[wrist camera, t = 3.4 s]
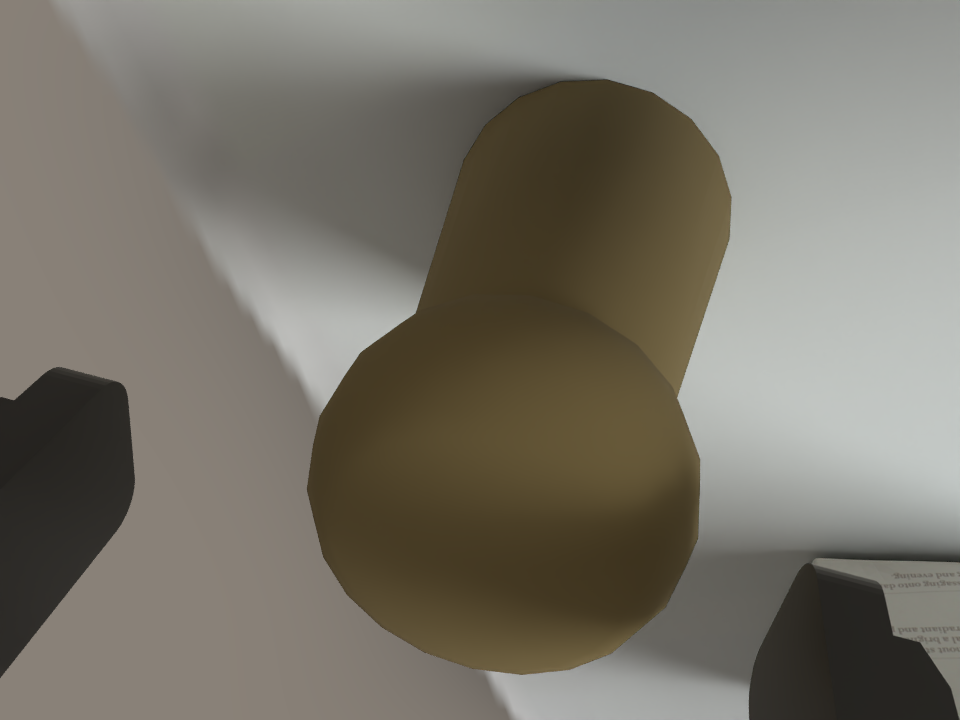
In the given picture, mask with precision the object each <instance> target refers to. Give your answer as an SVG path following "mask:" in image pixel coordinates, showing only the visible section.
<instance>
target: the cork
mask: <svg viewBox="0 0 960 720" xmlns="http://www.w3.org/2000/svg"><path fill="white" fill-rule="evenodd" d="M730 216H731V194H730V191H729V188H728V184H727V181H726V178H725V175H724V171H723V168H722V165H721V162H720V158H719V156H718V154H717V153H716V151H715V150H714V149H713V147H712V146H711V145H710V143H709V142H708V141H707V139H706V138H705V137H704V135H703V134H702V133H701V131H700V130H699V129H698V127H697V126H696V125H695V123H694V122H693V121H692V119H690V118H689V117H687V116H686V115H685V114H683V113H682V112H680V111H679V110H677V109H676V108H674V107H673V106H671V105H670V104H668V103H667V102H666V101H664V100H663V99H661V98H660V97H658V96H657V95H655V94H654V93H652V92H648V91H645V90H641V89H638V88H634V87H631V86H627V85H624V84H620V83H617V82H613V81H610V80H591V81H565V82H559V83H556V84H553V85H551V86H548V87H545V88H543V89H540V90H537V91H535V92H532V93H530V94H527V95H524V96H522V97H519V98H518V99H516V100H515V101H514V102H513V103H511V104H510V105H509V106H508V107H507V108H505V109H504V110H503V111H502V112H501V113H499V114H498V115H497V116H496V117H494V118H493V119H492V120H491V121H490V122H488V123H487V124H486V125H485V126H484V128H483V130H482V131H481V133H480V135H479V136H478V138H477V140H476V141H475V143H474V144H473V146H472V148H471V149H470V151H469V153H468V154H467V156H466V158H465V159H464V161H463V165H462V168H461V171H460V174H459V177H458V181H457V184H456V187H455V190H454V193H453V196H452V200H451V203H450V206H449V209H448V212H447V216H446V219H445V222H444V225H443V228H442V231H441V235H440V238H439V241H438V244H437V247H436V251H435V254H434V257H433V260H432V263H431V266H430V270H429V273H428V276H427V279H426V282H425V286H424V289H423V292H422V295H421V298H420V301H419V305H418V308H417V311H416V314H414V315H413V316H411V317H410V318H408V319H407V320H405V321H404V322H402V323H401V324H399V325H398V326H397V327H395V328H394V329H393V330H391V331H390V332H388V333H387V334H386V335H384V336H383V337H381V338H380V339H379V340H377V341H376V342H374V343H373V344H372V345H370V346H369V347H368V348H366V349H365V350H363V351H362V352H361V353H360V354H359V356H358V357H357V359H356V360H355V362H354V363H353V365H352V366H351V367H350V369H349V370H348V372H347V373H346V375H345V376H344V378H343V379H342V381H341V383H340V384H339V386H338V388H337V389H336V391H335V392H334V394H333V396H332V397H331V399H330V400H329V402H328V404H327V405H326V407H325V408H324V410H323V412H322V413H321V415H320V417H319V421H318V426H317V430H316V435H315V439H314V444H313V449H312V457H311V464H310V471H309V478H308V485H307V492H308V496H309V500H310V505H311V508H312V513H313V517H314V521H315V525H316V529H317V533H318V538H319V542H320V545H321V550H322V554H323V557H324V559H325V561H326V562H327V563H328V565H329V567H330V569H331V570H332V572H333V573H334V575H335V576H336V578H337V580H338V581H339V583H340V584H341V586H342V587H343V589H344V591H345V592H346V594H347V595H348V596H349V597H350V598H351V599H352V600H353V601H354V602H355V603H356V604H357V605H358V606H359V607H361V608H362V609H363V610H364V611H365V612H366V613H367V614H368V615H369V616H370V617H371V618H372V619H373V620H374V621H375V622H377V623H378V624H379V625H380V626H381V627H382V628H384V629H385V630H387V631H389V632H391V633H392V634H394V635H396V636H397V637H399V638H401V639H403V640H404V641H406V642H408V643H409V644H411V645H413V646H414V647H416V648H418V649H419V650H421V651H423V652H425V653H428V654H430V655H433V656H436V657H440V658H442V659H445V660H448V661H451V662H454V663H457V664H460V665H463V666H466V667H469V668H472V669H479V670H487V671H495V672H503V673H512V674H520V675H524V674H534V673H543V672H553V671H563V670H570V669H573V668H575V667H578V666H580V665H583V664H585V663H588V662H591V661H593V660H596V659H598V658H601V657H603V656H606V655H609V654H611V653H612V652H613V651H615V650H616V649H617V648H618V647H619V646H621V645H622V644H623V643H624V642H625V641H627V640H628V639H629V638H630V637H631V636H632V635H634V634H635V633H636V632H637V631H638V630H639V629H641V628H642V627H643V626H644V625H645V624H647V623H648V622H649V621H650V620H651V619H652V618H654V617H655V616H656V615H657V614H658V613H659V612H661V611H662V610H663V609H664V608H665V607H666V605H667V603H668V601H669V599H670V597H671V595H672V593H673V591H674V589H675V587H676V585H677V583H678V581H679V579H680V577H681V575H682V573H683V571H684V569H685V567H686V565H687V563H688V560H689V558H690V556H691V553H692V551H693V549H694V546H695V544H696V542H697V539H698V523H699V496H700V458H699V455H698V452H697V450H696V447H695V444H694V442H693V439H692V436H691V433H690V431H689V428H688V425H687V423H686V420H685V417H684V415H683V412H682V409H681V407H680V404H679V402H678V399H677V396H678V393H679V390H680V387H681V384H682V381H683V378H684V375H685V372H686V369H687V366H688V363H689V360H690V357H691V354H692V351H693V348H694V345H695V342H696V339H697V336H698V333H699V330H700V327H701V324H702V321H703V318H704V314H705V311H706V308H707V305H708V302H709V299H710V296H711V293H712V290H713V287H714V284H715V281H716V278H717V275H718V272H719V269H720V266H721V263H722V260H723V257H724V254H725V251H726V248H727V245H728V242H729V237H730Z"/></svg>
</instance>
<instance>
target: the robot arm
mask: <svg viewBox="0 0 960 720" xmlns="http://www.w3.org/2000/svg"><path fill="white" fill-rule="evenodd" d="M134 483H135V475H134V463H133V451H132V440H131V428H130V417H129V405H128V396H127V392H126V389H125V387H124V386H123V385H122V384H121V383H119V382H116V381H112V380H109V379H104V378H100V377H97V376H93V375H89V374H85V373H82V372H78V371H74V370H70V369H66V368H62V367H56V368H53V369H51V370H49V371H47V372H46V373H45V374H43V375H42V376H41V377H40V378H39V379H38V380H37V381H36V382H34V383H33V384H32V385H31V386H30V387H29V388H28V389H27V390H25V391H24V392H23V393H22V394H21V395H20V396H19V397H18V398H16V399H15V400H10V399H6V398H3V397H1V398H0V678H1V676H2V675H3V674H4V673H5V671H6V670H7V669H8V668H9V666H10V665H11V664H12V662H13V661H14V660H15V658H16V657H17V656H18V655H19V653H20V652H21V651H22V650H23V649H24V647H25V646H26V645H27V643H28V642H29V641H30V640H31V638H32V637H33V636H34V634H35V633H36V632H37V631H38V630H39V628H40V627H41V625H43V623H44V622H45V621H46V619H47V618H48V617H49V616H50V614H51V613H52V612H53V610H54V609H55V608H56V607H57V606H58V604H59V603H60V602H61V600H62V599H63V598H64V597H65V595H66V594H67V593H68V591H69V590H70V589H71V588H72V586H73V585H74V584H75V583H76V582H77V580H78V579H79V578H80V577H81V575H82V574H83V573H84V571H85V570H86V569H87V568H88V566H89V565H90V564H91V563H92V561H93V560H94V559H95V558H96V556H97V555H98V554H99V553H100V551H101V550H102V549H103V547H104V546H105V545H106V544H107V542H108V541H109V540H110V539H111V537H112V536H113V535H114V534H115V532H116V531H117V530H118V528H119V527H120V525H121V524H122V522H123V520H124V518H125V516H126V514H127V512H128V509H129V506H130V503H131V500H132V496H133V492H134ZM749 720H959V716H958V712H957V708H956V705H955V701H954V697H953V694H952V690H951V687H950V686H949V684H948V683H947V681H946V680H945V678H944V677H943V676H942V674H941V673H940V671H939V670H938V668H937V667H936V665H935V664H934V662H933V661H932V659H931V658H930V656H929V655H928V653H927V652H926V650H925V649H924V647H923V646H922V644H921V643H920V642H917V641H913V640H909V639H906V638H902V637H898V636H894V635H893V631H892V627H891V622H890V617H889V613H888V608H887V604H886V599H885V595H884V591H883V589H882V587H881V585H880V584H879V582H877V581H875V580H871V579H868V578H864V577H860V576H856V575H852V574H848V573H844V572H841V571H837V570H833V569H829V568H825V567H821V566H817V565H814V564H805V565H804V566H803V567H802V568H801V569H800V571H799V572H798V574H797V576H796V578H795V580H794V582H793V584H792V586H791V588H790V590H789V592H788V594H787V596H786V598H785V600H784V602H783V604H782V606H781V608H780V610H779V612H778V613H777V615H776V617H775V619H774V621H773V623H772V625H771V627H770V629H769V631H768V633H767V635H766V637H765V639H764V641H763V643H762V645H761V647H760V650H759V652H758V655H757V657H756V660H755V664H754V668H753V672H752V677H751V683H750V691H749Z"/></svg>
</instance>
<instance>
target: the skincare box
mask: <svg viewBox="0 0 960 720" xmlns="http://www.w3.org/2000/svg"><path fill="white" fill-rule="evenodd" d="M812 564H814V565H817V566H821V567H825V568H829V569H833V570H837V571H841V572H844V573H848V574H852V575H856V576H860V577H864V578H868V579H871V580H875V581H877V582H879V584H880V585H881V587H882V589H883V591H884V595H885V599H886V604H887V608H888V613H889V617H890V622H891V627H892V631H893V635H894V636H898V637H902V638H906V639H909V640H913V641H917V642H920V643H921V644H922V646H923V647H924V649H925V650H926V652H927V653H928V655H929V656H930V658H931V659H932V661H933V662H934V664H935V665H936V667H937V668H938V670H939V671H940V673H941V674H942V676H943V677H944V678H945V680H946V681H947V683H948V684H949V686H950V687H951V690H952V694H953V697H954V701H955V705H956V708H957V712H958V716H959V720H960V562H925V561H887V560H851V559H831V558H816V559H814V560H813V562H812Z"/></svg>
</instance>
